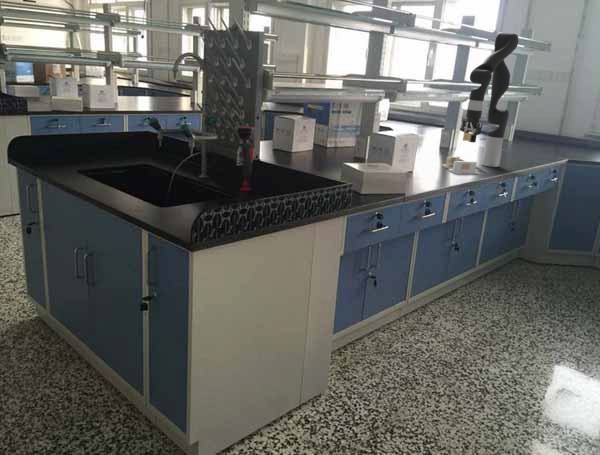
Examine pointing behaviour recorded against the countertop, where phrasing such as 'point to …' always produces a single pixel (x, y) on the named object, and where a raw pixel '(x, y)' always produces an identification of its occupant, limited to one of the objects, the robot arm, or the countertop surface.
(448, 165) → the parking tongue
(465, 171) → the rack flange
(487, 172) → the caliper
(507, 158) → the countertop surface
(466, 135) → the u clip
